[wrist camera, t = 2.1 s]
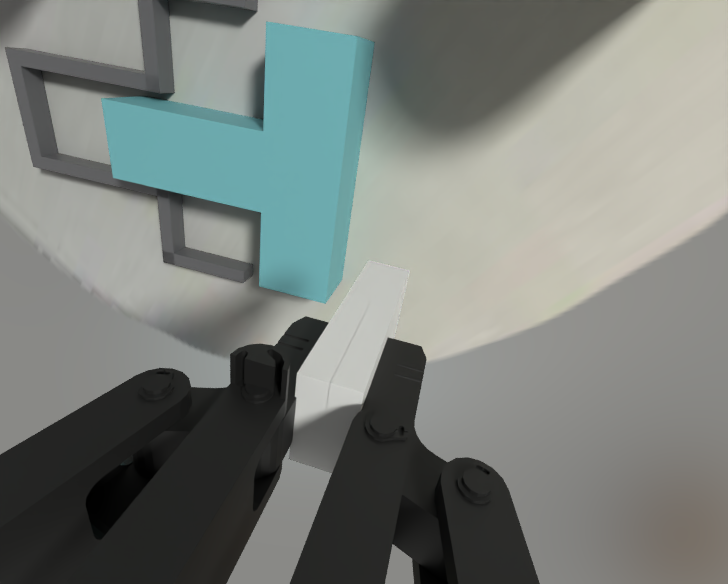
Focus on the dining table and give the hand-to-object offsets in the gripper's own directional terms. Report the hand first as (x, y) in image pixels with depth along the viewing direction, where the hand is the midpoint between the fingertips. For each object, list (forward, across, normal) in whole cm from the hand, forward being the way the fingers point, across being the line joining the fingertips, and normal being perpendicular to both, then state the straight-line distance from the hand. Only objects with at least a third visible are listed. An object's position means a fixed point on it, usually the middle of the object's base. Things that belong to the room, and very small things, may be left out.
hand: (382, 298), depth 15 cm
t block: (+15, -13, 0) cm, 20 cm away
